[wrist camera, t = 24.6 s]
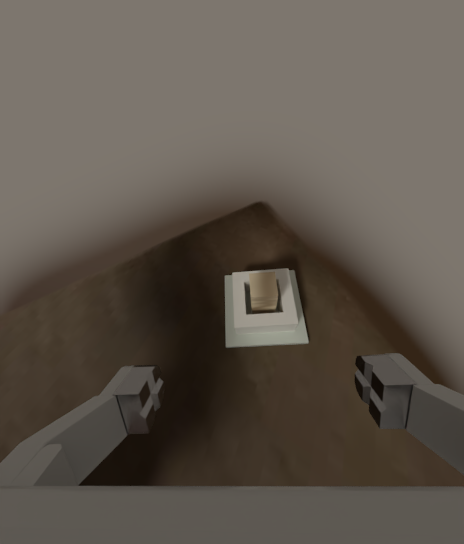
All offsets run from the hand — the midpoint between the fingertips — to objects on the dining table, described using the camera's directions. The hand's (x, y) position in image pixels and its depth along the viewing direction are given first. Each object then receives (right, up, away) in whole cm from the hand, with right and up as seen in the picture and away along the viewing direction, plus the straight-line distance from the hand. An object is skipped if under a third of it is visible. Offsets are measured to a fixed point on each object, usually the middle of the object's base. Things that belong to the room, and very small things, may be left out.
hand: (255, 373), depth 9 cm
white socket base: (+5, -3, +32) cm, 32 cm away
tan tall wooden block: (+5, -2, +31) cm, 31 cm away
